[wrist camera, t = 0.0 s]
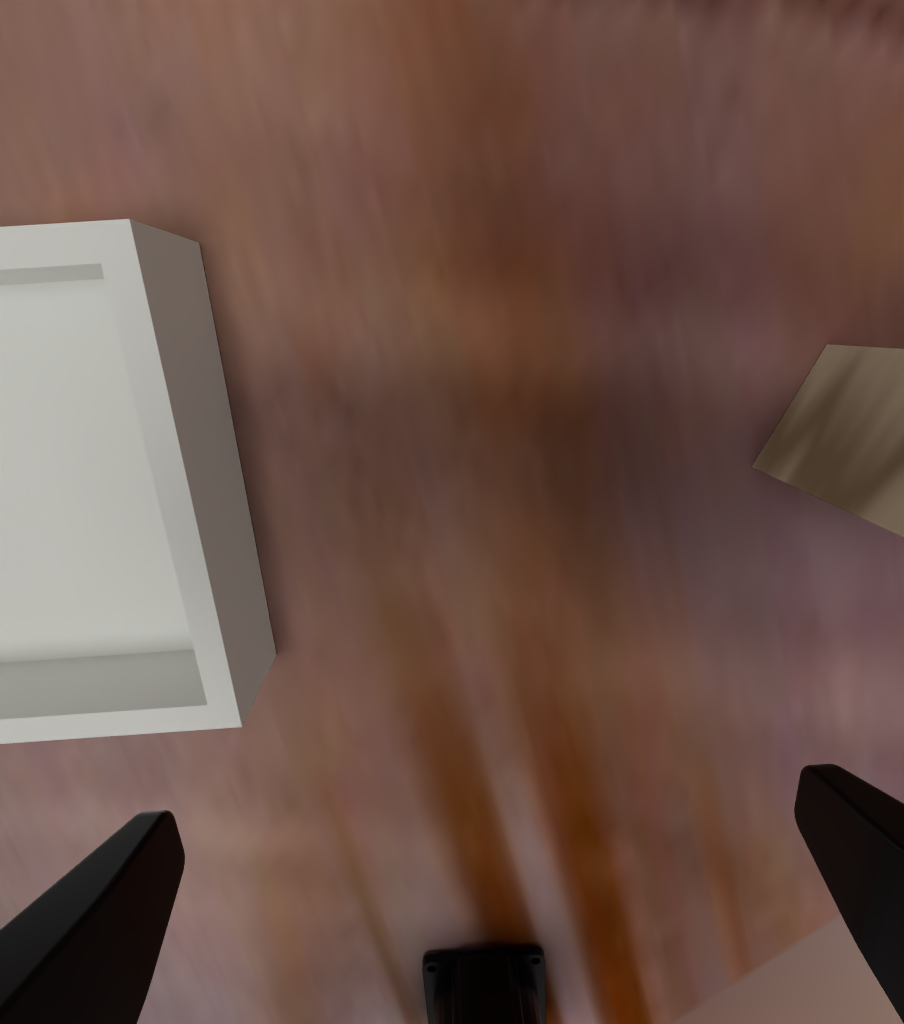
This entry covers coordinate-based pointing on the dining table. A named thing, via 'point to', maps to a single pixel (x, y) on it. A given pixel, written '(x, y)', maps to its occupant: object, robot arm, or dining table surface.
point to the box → (119, 493)
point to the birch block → (846, 434)
